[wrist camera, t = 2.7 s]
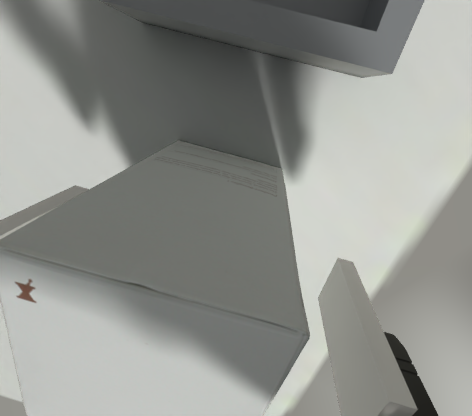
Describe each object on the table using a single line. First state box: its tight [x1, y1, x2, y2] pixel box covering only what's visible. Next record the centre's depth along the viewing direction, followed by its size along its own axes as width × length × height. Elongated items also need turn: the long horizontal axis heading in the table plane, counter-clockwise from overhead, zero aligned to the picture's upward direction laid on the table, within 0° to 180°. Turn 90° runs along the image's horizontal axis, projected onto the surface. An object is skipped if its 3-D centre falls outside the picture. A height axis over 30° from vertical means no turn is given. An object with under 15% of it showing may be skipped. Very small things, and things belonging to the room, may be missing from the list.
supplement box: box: [0, 140, 310, 416], centre depth 13 cm, size 7×7×13 cm
